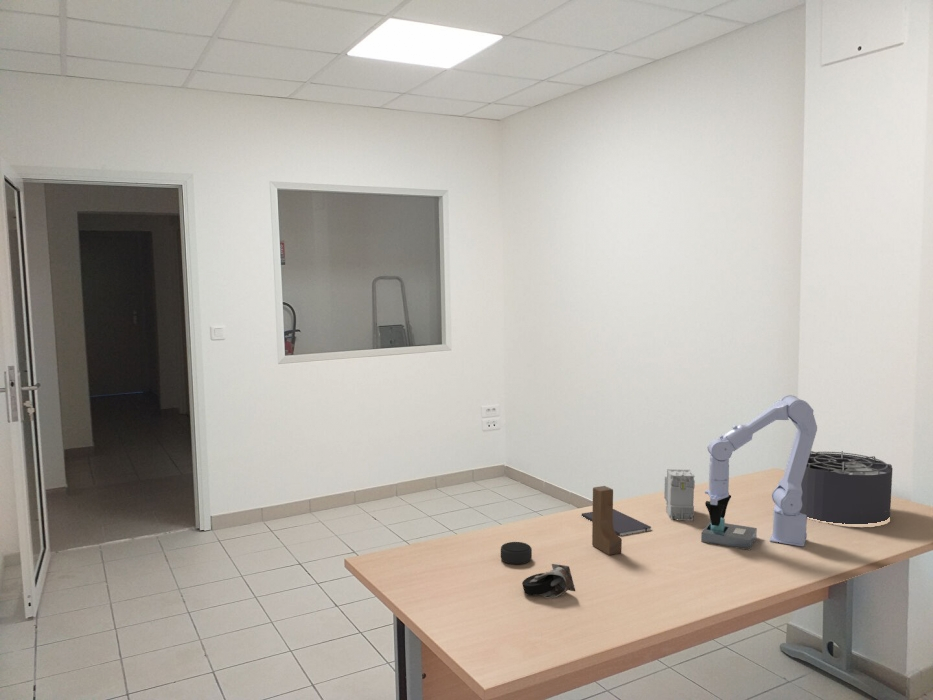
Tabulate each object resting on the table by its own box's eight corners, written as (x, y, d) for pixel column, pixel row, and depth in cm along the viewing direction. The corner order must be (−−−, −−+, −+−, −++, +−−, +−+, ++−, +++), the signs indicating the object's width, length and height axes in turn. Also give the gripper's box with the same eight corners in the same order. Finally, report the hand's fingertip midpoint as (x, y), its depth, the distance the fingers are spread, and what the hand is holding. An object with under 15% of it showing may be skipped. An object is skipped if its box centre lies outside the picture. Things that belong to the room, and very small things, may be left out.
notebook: (581, 517, 248) (619, 538, 229) (581, 513, 248) (619, 533, 229) (612, 512, 254) (652, 532, 234) (612, 508, 253) (652, 527, 234)
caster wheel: (520, 600, 190) (547, 585, 195) (549, 607, 180) (577, 590, 186) (513, 576, 189) (541, 561, 195) (542, 581, 180) (570, 565, 186)
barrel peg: (725, 537, 228) (726, 518, 227) (722, 540, 224) (723, 521, 224) (712, 534, 230) (712, 516, 229) (709, 538, 227) (709, 519, 226)
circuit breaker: (685, 507, 258) (686, 465, 256) (693, 520, 244) (694, 476, 242) (663, 506, 258) (664, 464, 257) (670, 519, 244) (671, 475, 243)
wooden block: (622, 553, 215) (622, 493, 213) (609, 555, 213) (610, 495, 211) (604, 543, 223) (604, 485, 221) (591, 545, 221) (592, 487, 219)
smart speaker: (534, 555, 214) (534, 542, 213) (528, 567, 205) (528, 553, 205) (504, 552, 216) (504, 539, 216) (497, 563, 208) (497, 550, 207)
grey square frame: (756, 537, 227) (756, 527, 227) (749, 550, 217) (750, 539, 217) (709, 530, 234) (710, 520, 234) (701, 541, 224) (701, 531, 223)
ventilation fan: (897, 475, 229) (792, 465, 242) (894, 533, 230) (790, 520, 243) (890, 454, 255) (795, 446, 268) (887, 506, 257) (793, 495, 270)
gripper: (710, 471, 234) (709, 512, 235) (700, 482, 221) (699, 526, 222) (733, 474, 230) (732, 516, 231) (724, 485, 218) (723, 530, 219)
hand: (717, 521), depth 227 cm, fingers open, 7 cm apart
